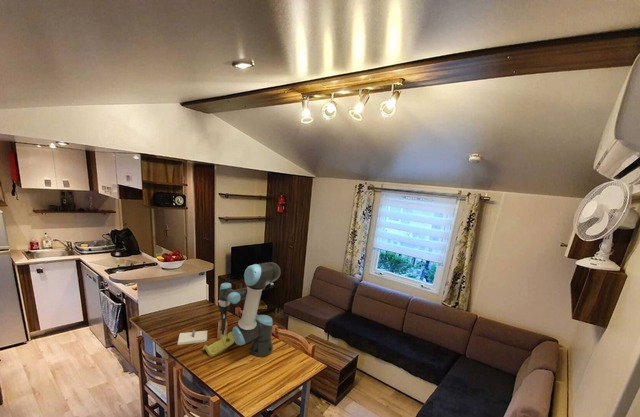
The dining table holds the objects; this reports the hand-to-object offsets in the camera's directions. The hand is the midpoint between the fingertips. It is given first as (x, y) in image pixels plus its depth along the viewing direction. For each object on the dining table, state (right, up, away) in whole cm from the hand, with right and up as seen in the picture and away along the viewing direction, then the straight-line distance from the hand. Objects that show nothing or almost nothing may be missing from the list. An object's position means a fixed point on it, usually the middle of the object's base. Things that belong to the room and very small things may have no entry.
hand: (222, 333), depth 188 cm
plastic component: (+4, -4, -14) cm, 15 cm away
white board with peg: (-18, -1, -6) cm, 19 cm away
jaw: (0, -2, 0) cm, 2 cm away
